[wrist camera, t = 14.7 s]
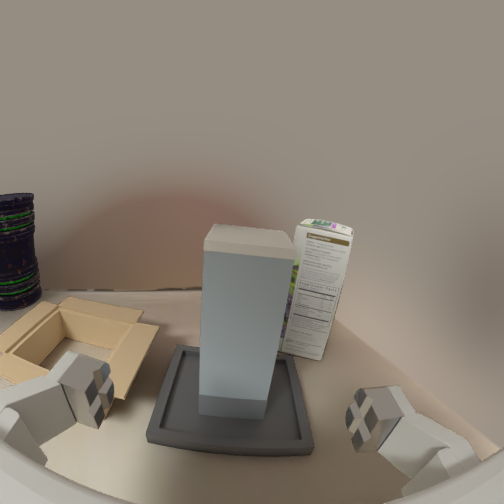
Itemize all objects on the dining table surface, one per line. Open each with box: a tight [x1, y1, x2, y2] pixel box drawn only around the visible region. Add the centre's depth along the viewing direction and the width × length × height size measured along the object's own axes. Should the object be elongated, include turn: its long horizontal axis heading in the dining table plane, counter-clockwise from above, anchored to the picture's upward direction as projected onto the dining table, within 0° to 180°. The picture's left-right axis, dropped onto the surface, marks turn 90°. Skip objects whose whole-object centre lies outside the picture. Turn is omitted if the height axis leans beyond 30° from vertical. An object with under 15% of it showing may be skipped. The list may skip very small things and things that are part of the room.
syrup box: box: [278, 219, 354, 361], centre depth 30 cm, size 6×6×14 cm
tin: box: [199, 224, 297, 420], centre depth 19 cm, size 5×5×14 cm
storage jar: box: [0, 193, 42, 311], centre depth 27 cm, size 10×10×15 cm
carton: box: [0, 296, 160, 420], centre depth 20 cm, size 15×15×4 cm
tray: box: [146, 345, 314, 456], centre depth 21 cm, size 12×12×1 cm
